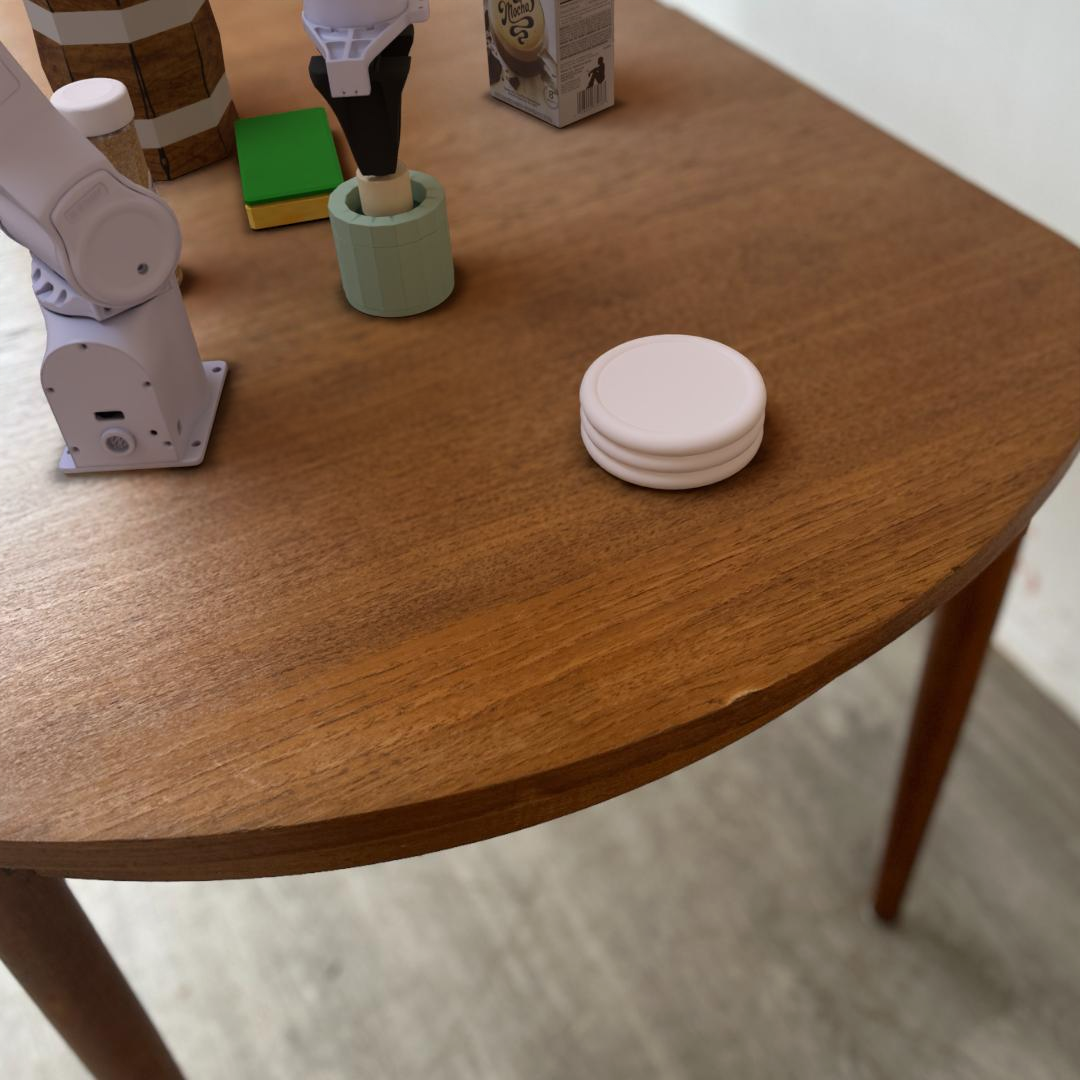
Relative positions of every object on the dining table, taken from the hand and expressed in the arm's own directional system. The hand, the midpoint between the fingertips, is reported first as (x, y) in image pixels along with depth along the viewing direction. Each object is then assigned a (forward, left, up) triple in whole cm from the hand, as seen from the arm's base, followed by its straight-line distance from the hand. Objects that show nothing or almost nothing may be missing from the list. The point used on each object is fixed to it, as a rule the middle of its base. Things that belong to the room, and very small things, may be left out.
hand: (380, 163), depth 72 cm
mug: (+27, +22, -9) cm, 35 cm away
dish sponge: (+16, +9, -9) cm, 20 cm away
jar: (0, 0, -9) cm, 9 cm away
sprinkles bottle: (+2, +17, -9) cm, 19 cm away
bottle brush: (0, 0, -3) cm, 3 cm away
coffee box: (+27, -11, -9) cm, 30 cm away
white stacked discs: (-17, -16, -9) cm, 25 cm away
